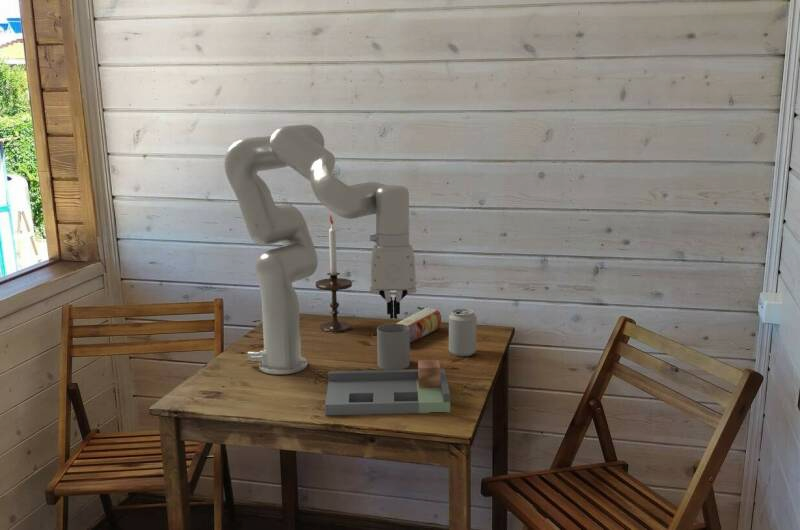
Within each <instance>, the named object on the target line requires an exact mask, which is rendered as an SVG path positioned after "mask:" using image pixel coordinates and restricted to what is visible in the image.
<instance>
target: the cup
mask: <svg viewBox="0 0 800 530" xmlns="http://www.w3.org/2000/svg"><path fill="white" fill-rule="evenodd" d="M376 341H377V342H376V343H377V344H376V345H377V347H376V348H377V350H376V351H377V355H376V356H377V366H378V368H380V369H381V370H406V369H407V368H409V367H410V364H411V355H410V354H411V353H410V351H411V350H410V341H409V327H408V326H406V325H403V324H396V323H385V324H382V325H379V326H378V327H376Z"/></svg>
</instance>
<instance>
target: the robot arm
mask: <svg viewBox="0 0 800 530" xmlns="http://www.w3.org/2000/svg"><path fill="white" fill-rule="evenodd" d="M335 165H336V159H335V156H334V154H333V153H332V152H331V151H329V150H328V149H327V148H325V138H324V135H323V134H322V132H321V131H320V130H319V128H317V127H316V126H313V125H311V124H297V125H296V124H295V125H285V126H281V127H279V128H277V129H276V130H275V131H274V132H273V133H272V135H270V136H269V135H267V136H256V137H255V136H254V137H247V138H242V139H239V140H237V141H234V142H233V143H232V144H231V145H230V146H229V147H228V148H227V151H226V153H225V157H224V169H225V170H224V171H225V175H226V177H227V180H228V182H229V184H230V186H231V188H232V190H233V193H234V194H235V196H236V199H237V202H238V204H239V208H240V211H241V213H242V214H241V215H242V218H243V220H244V223H245V225H246V228H247V231H248V233H249V236H250V238H251V240H252V242H254V243H255V244H256V245H258V246H268V245H273V244H276V243H277V244H278V243H281V245H282V246H280V247H275V248H272V249H268V250H266V251H265V252H263V253H262V254H260V256H259V257H258V258H257V260H256V263H255V274H256V278H257V281H258V282H257V283H258V286H259V292H260V299H261V312H262V313H261V316H262V318H261V319H262V331H263V332H262V334H263V337H262V338H263V349H261V350H259V351H247V359H248V360H250V361H251V362H259V363H258V369H259V370H260V371H261V372H262V373H265V374H270V375H289V374H294V373H295V374H296V373H299V372H301V371H303V370H305V369H306V368H307V367H308V360H307V358H305V357H303V356H302V347H301V326H300V324H301V323H300V322H301V321H300V302H299V297H298V294H297V292H296V291H295V287H294V286H293V283H295V282H297V281H300V280H304V279H306V278H309V277H311V276H312V275H314V273H315V272H316V270H317V268H318V264H319V263H318V254H317V250H316V247H315V245H314V243H313V239H312V237H311V233H310V230H309V227H308V225H307V223H306V220H305V217H304V216H303V214H302V212H301V211H300V210H299V209H298V208H297V207H296V206H294V205H292V204H288V203H286V204H285V203H282V204H275V203H276V202H275V201H274V199H273V196H272V192H271V190H270V188H269V186H268V185H267V183H266V182H265V181H264V179H262V178H261V177H260V176H259V175H258V172H260V171H271V170H277V169H283V168H287V167H290V168H291V169H293V170H294V171H296V173H298V174H299V175H301V176H302V177H304V178H305V179H306V180H308V181H309V183H310V187H311V190H312V192H313V193H314V196H315V197H316V199H317V200H318V201H319V203H321V204H322V205H323V206H325V207H326V208H327V209H328V210H330V211H331V212H333V213H335V214H336V215H337V216H339V217H341V218H344V219H348V220H353V219H358V218H361V217H362V218H363V217H366V216H371V215H375V224H376V225H375V226H376V228H375V229H376V230H375V233H374V234H373V235H370V236H369V241H370V242H374V243H375V244H374V245H373V247H372V252H371V261H370V262H371V263H370V264H371V265H370V266H371V268H370V283H371V286H370V288H369V292H370V293H371V294H375V295H379V296H381V297H382V299H384V300H385V302H386V314H387V315H389V319H390V320H392V319H396V320H397V319H398V315H401V301H402V300H403V299H404V298H406V296H407V295H411V294H414V293H416V292H417V287H416V261H415V260H416V259H415V252H414V247H413V246H412V244H410V194H409V193H410V192H409V190H408V188H407V187H406V186H403V185H395V184H394V185H393V184H392V185H390V184H389V185H387V184H383V183H380V182H376V181H368V182H361V183H357V184H351V185H347V183H344V182H343V181H342V180H341V179H339V178H338V177H336V176H335V175H334V174H333V172H334V168H335ZM391 291H396V293H395V297H394V299H393V297H392V296H391Z"/></svg>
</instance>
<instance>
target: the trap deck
mask: <svg viewBox="0 0 800 530" xmlns="http://www.w3.org/2000/svg"><path fill="white" fill-rule="evenodd" d="M445 370H446V369H445V368H440V388H419V383H418V368H417V369H400V370H386V369H380V370H378V369H376V370H337V371H336V370H333V371H332V370H331V371H328V373H327V374H328V376H327V377H328V382H327V383H328V384H327V388H326V396H325V403H324V409H325V410H324V413H325V414H324V415H325V416H341V415H342V416H344V415H345V416H350V415H351V416H352V415H393V414H394V415H395V414H397V415H398V414H399V415H400V414H402V415H403V414H431V413H430V412H447V413H451V391H450V388H449V384H448V383H449V382H448V379H447V375H446V371H445Z"/></svg>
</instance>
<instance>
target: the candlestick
mask: <svg viewBox="0 0 800 530" xmlns="http://www.w3.org/2000/svg"><path fill="white" fill-rule="evenodd" d="M329 222H330V229H328V237H329V267H330V269H329V270H330V271H329V272H328V273H326V275H327V276H329V278H323V279H319V280H317V281H316V282H315V288H316V289H319V290H323V291H330V292H331V302H330V303H329V306H330V308H331V311H330V314H331V315H332V320H331V321H327V322H324V323H322V324H320V326H319V328H320V329H321V330H322V331H321V330H320V329H319V330H320V331H321V332H323V331H325V332H324V333H326V332H333V333H332V334H335V333H334V332H342V333H345V332H344V331H346V332H348V331H350V330H351V324H350V323H349V322H346V321H339V320H338V314H339V313H340V312H339V310H338V308H339V307H340V304H339V302H338V301H337V300H338V299H337V291H340V290H341V291H342V290H343V291H344V290H346V289H350V288H352V286H353V281H352V280H351V279H348V278H342V277H341V278H339V277H338V275H339V276H340V275H341V273H340V272H337V271H338V270H337V246H336V245H337V244H336V243H337V241H336V240H337V237H336V229H335V228H334V225H333V224H334V220H333V216H331V215H329ZM349 329H350V330H349ZM347 330H348V331H347Z"/></svg>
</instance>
